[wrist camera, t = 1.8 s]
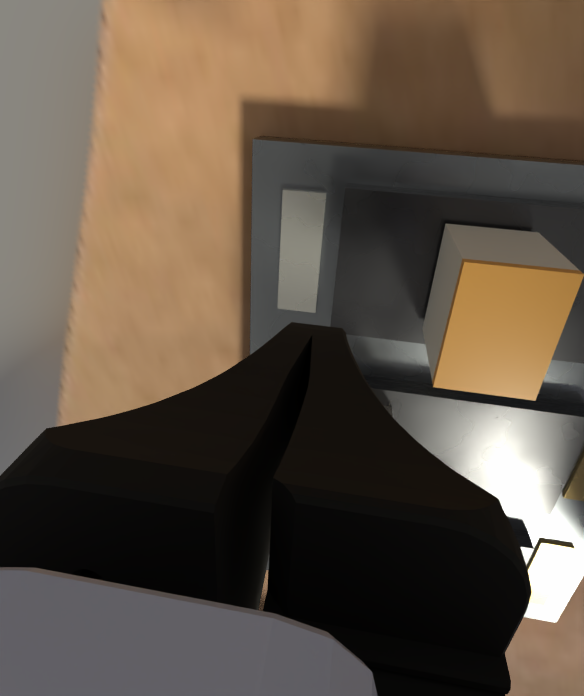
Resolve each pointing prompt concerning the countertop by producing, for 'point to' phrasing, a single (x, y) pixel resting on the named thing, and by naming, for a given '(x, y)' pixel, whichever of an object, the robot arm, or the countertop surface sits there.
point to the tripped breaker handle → (496, 310)
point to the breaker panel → (411, 305)
